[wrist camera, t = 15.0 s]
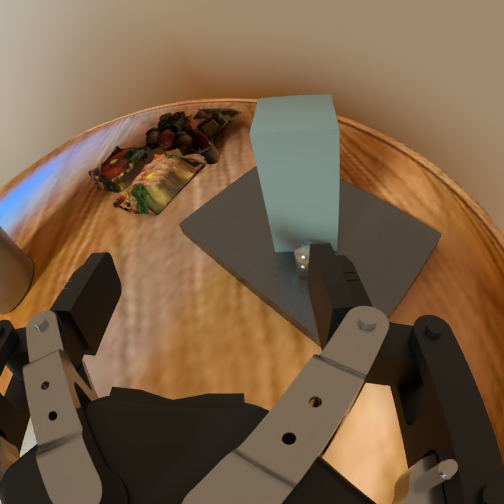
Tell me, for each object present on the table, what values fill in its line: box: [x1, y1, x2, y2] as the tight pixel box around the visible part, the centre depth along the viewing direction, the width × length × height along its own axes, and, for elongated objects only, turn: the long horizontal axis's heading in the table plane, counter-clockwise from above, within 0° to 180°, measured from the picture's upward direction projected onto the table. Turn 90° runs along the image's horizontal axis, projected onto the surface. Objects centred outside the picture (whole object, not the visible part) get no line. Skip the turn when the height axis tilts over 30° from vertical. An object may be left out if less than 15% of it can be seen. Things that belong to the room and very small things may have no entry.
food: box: [89, 108, 241, 216], centre depth 40 cm, size 22×19×4 cm
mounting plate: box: [179, 166, 441, 347], centre depth 25 cm, size 20×14×4 cm
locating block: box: [249, 94, 340, 252], centre depth 21 cm, size 5×5×11 cm
